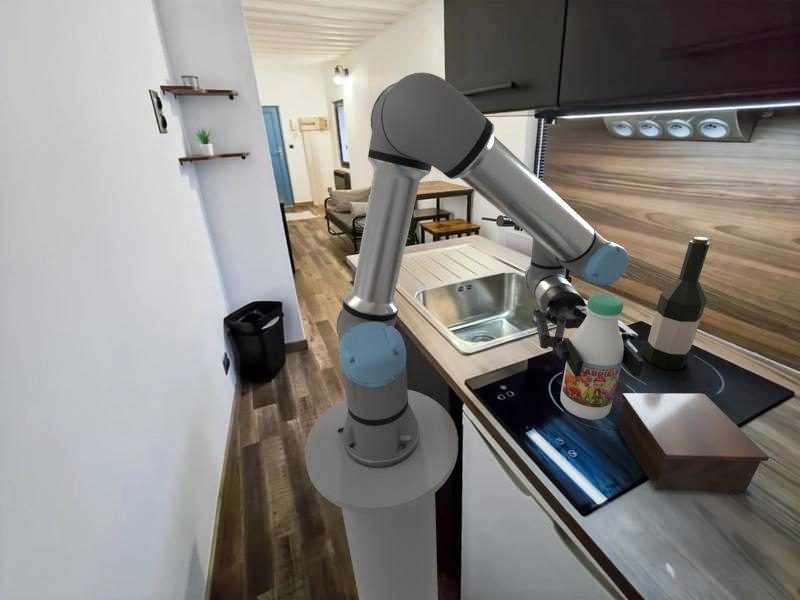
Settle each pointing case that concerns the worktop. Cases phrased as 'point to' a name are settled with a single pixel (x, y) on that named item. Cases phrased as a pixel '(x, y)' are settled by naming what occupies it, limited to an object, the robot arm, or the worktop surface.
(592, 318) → the milk bottle
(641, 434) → the walnut box
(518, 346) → the worktop surface
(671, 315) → the wine bottle
